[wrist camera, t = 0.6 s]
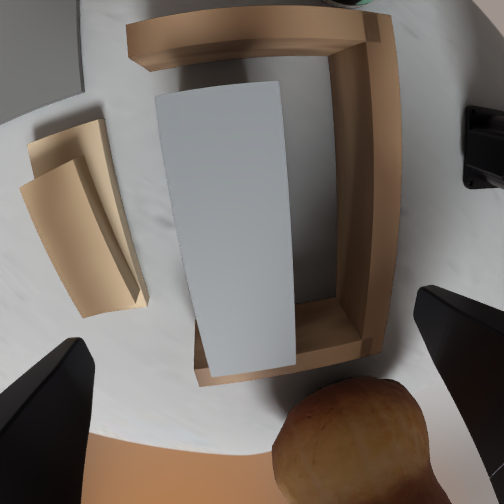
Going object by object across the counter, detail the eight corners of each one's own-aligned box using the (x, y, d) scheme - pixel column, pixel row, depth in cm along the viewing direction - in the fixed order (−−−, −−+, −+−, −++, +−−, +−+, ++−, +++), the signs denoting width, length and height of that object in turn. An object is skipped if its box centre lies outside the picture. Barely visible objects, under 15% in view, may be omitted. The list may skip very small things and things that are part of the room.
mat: (87, -102, 7) (86, -105, 7) (84, 92, 15) (81, 91, 14) (-13, -52, 7) (-16, -53, 6) (-21, 135, 14) (-26, 136, 14)
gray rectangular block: (250, 94, 16) (278, 80, 9) (268, 280, 21) (296, 364, 14) (179, 103, 16) (154, 96, 9) (209, 289, 21) (211, 377, 14)
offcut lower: (107, 118, 16) (97, 119, 15) (151, 292, 21) (147, 306, 20) (40, 140, 16) (27, 144, 14) (89, 301, 21) (82, 315, 20)
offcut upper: (83, 155, 15) (73, 159, 14) (140, 289, 19) (135, 303, 18) (32, 181, 15) (19, 187, 14) (89, 304, 19) (82, 318, 18)
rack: (349, 33, 15) (390, 15, 11) (353, 310, 23) (380, 352, 19) (147, 46, 14) (125, 25, 10) (199, 336, 23) (199, 386, 18)
